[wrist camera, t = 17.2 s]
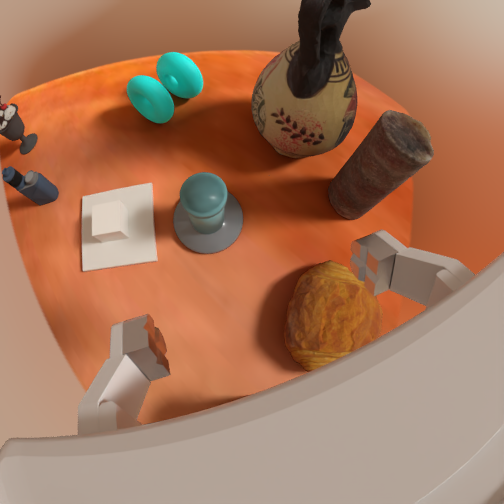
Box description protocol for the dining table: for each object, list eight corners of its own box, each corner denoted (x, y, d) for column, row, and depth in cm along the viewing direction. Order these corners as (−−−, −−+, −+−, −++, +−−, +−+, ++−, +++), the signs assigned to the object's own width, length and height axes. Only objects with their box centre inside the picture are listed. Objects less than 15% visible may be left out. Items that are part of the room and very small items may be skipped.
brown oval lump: (266, 352, 41) (271, 369, 33) (300, 252, 42) (313, 247, 34) (352, 373, 40) (371, 391, 33) (384, 281, 42) (410, 282, 34)
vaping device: (38, 194, 39) (0, 166, 28) (60, 186, 40) (24, 154, 28) (37, 207, 39) (-3, 181, 27) (59, 200, 40) (21, 170, 28)
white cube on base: (157, 261, 39) (149, 255, 35) (85, 271, 38) (70, 266, 33) (152, 184, 41) (145, 170, 37) (84, 198, 40) (71, 187, 35)
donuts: (131, 112, 44) (117, 76, 34) (169, 79, 46) (162, 42, 36) (169, 135, 44) (158, 97, 34) (207, 99, 46) (205, 60, 36)
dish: (247, 248, 41) (248, 247, 40) (177, 258, 40) (176, 257, 39) (237, 184, 43) (237, 182, 42) (171, 193, 41) (171, 191, 41)
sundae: (45, 129, 42) (11, 86, 27) (31, 158, 40) (-10, 119, 26) (26, 130, 42) (-8, 91, 27) (13, 157, 40) (-27, 121, 25)
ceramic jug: (281, 89, 48) (319, -47, 18) (349, 135, 47) (433, 12, 18) (221, 143, 44) (226, -27, 15) (299, 199, 43) (396, 50, 14)
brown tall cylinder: (317, 205, 43) (377, 135, 24) (333, 170, 45) (389, 94, 25) (358, 228, 43) (437, 176, 24) (371, 192, 45) (442, 131, 25)
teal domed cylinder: (228, 233, 40) (230, 212, 31) (190, 238, 40) (181, 219, 31) (223, 198, 41) (224, 169, 32) (187, 203, 41) (178, 175, 32)
